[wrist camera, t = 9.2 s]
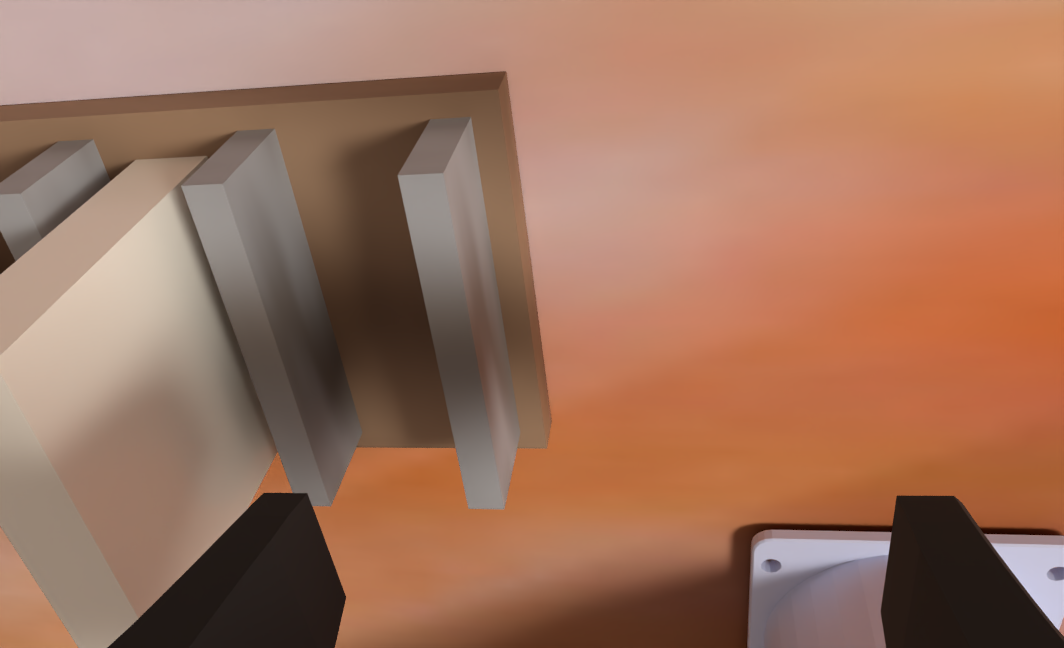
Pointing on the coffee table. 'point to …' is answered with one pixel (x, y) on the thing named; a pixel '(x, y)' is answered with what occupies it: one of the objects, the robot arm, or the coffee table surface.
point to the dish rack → (335, 255)
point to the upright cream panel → (122, 404)
